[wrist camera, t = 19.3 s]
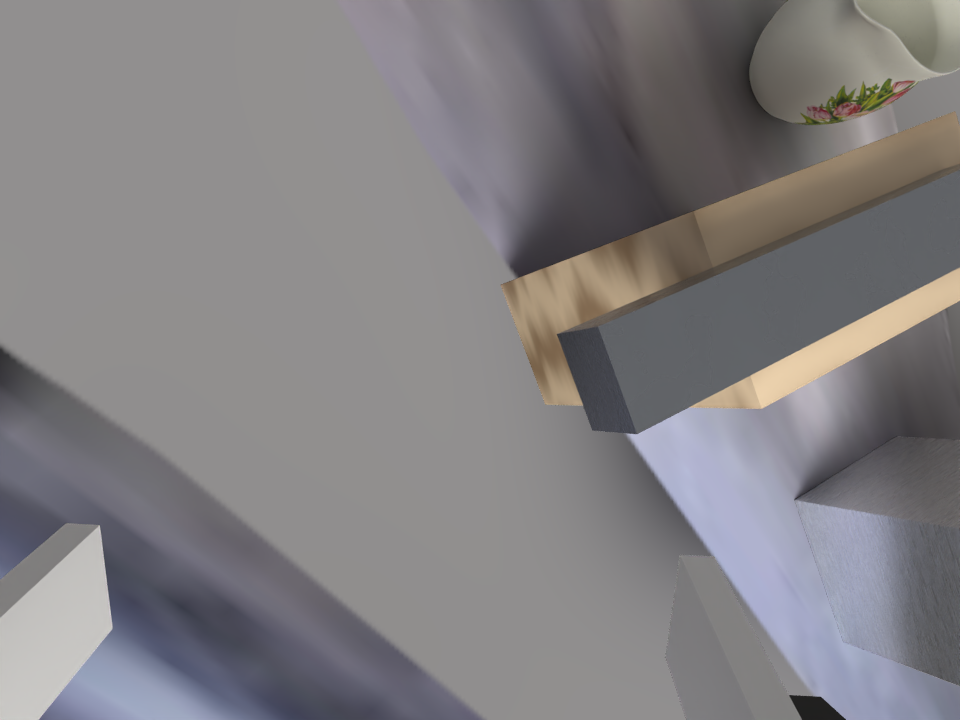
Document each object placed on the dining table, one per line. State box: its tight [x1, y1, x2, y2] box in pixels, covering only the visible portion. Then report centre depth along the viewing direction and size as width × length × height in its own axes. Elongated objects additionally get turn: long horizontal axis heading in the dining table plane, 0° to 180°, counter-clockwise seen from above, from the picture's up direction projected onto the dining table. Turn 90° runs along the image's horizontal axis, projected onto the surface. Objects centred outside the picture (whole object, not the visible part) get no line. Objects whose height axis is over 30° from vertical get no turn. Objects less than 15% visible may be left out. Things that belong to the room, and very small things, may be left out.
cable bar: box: [557, 164, 960, 434], centre depth 30 cm, size 4×24×3 cm, turn 112°
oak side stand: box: [501, 112, 960, 409], centre depth 43 cm, size 9×18×20 cm, turn 112°
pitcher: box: [749, 0, 960, 125], centre depth 53 cm, size 11×18×14 cm, turn 104°
